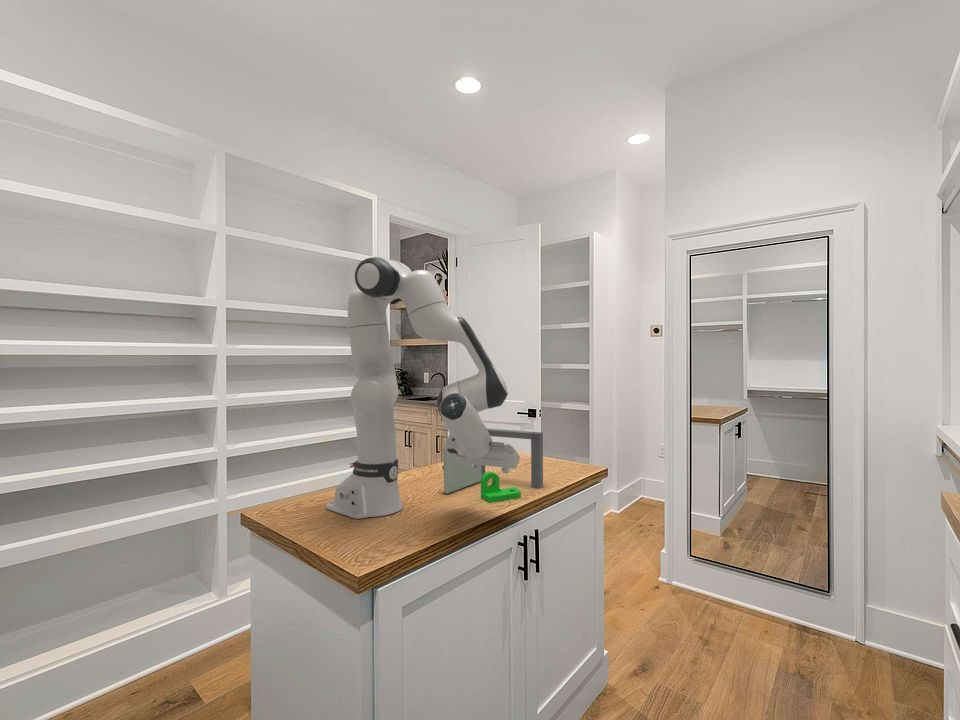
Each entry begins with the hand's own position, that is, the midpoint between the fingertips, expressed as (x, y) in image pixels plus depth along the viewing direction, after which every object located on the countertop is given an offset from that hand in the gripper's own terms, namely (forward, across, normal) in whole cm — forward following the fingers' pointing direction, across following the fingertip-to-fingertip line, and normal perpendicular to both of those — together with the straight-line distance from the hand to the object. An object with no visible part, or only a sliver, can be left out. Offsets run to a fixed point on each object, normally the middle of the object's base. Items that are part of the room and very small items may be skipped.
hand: (491, 469), depth 137 cm
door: (+19, +19, -3) cm, 27 cm away
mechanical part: (+17, +2, 0) cm, 17 cm away
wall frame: (+27, +11, -11) cm, 32 cm away
